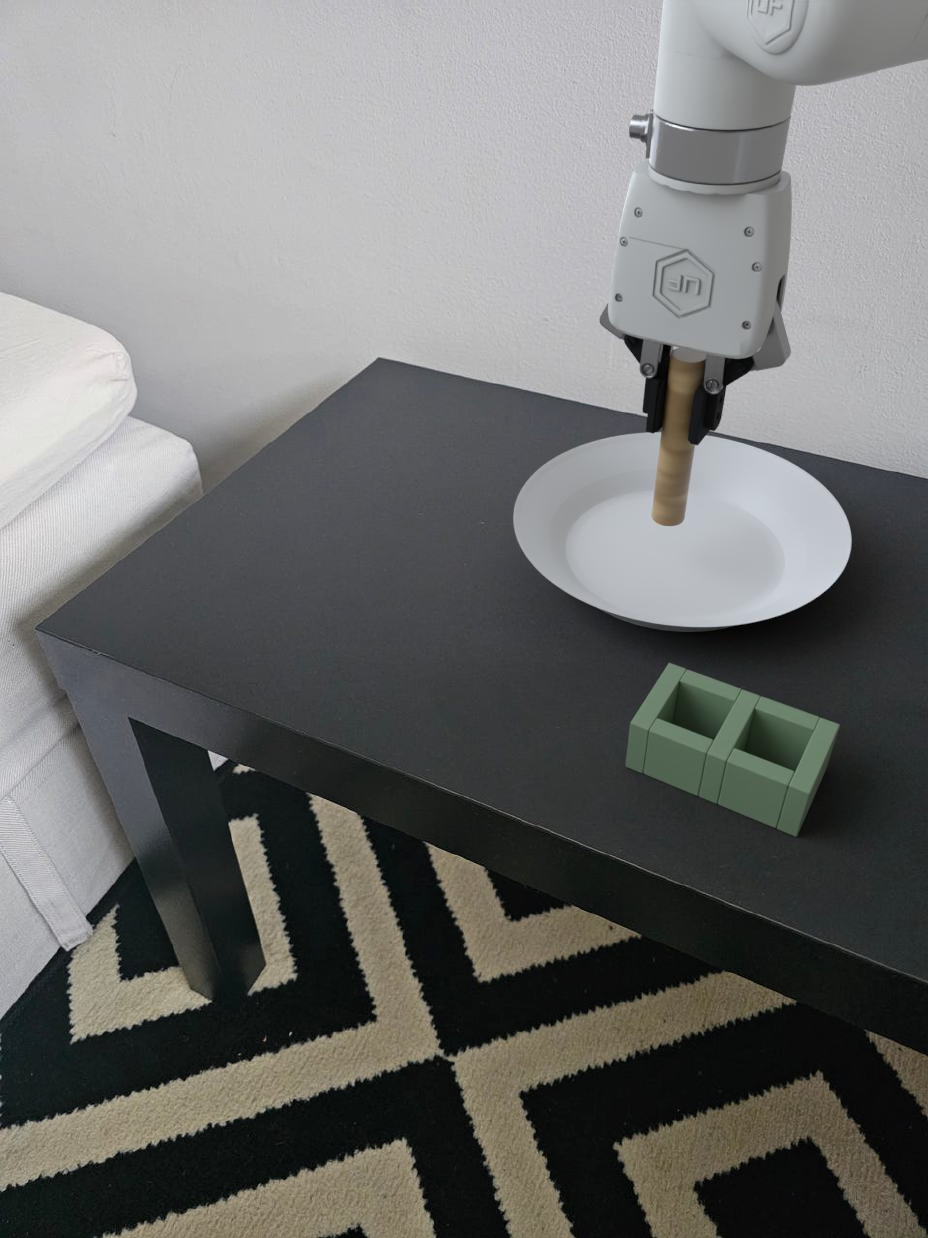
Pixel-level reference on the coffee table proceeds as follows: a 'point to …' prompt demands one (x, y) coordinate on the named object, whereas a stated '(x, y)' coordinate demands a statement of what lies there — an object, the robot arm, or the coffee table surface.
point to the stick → (677, 437)
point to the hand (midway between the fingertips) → (679, 427)
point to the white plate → (682, 534)
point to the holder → (731, 747)
